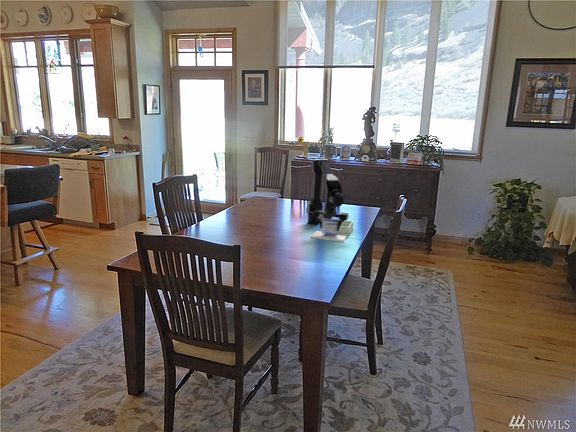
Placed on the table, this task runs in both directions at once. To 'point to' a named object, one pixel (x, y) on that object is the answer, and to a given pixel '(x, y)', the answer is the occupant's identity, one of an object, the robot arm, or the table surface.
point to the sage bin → (346, 227)
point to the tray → (329, 236)
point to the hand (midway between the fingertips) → (329, 230)
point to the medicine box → (329, 226)
